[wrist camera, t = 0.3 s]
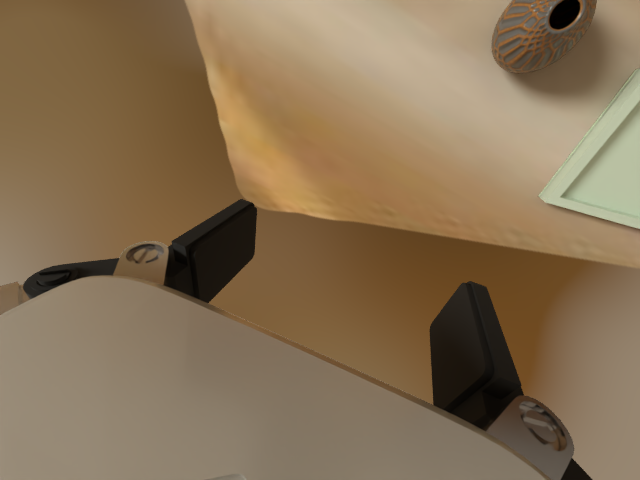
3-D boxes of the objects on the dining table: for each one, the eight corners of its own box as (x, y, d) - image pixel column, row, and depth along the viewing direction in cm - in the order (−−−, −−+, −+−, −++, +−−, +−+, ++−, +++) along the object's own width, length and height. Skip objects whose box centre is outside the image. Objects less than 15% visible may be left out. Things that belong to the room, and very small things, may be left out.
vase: (587, 13, 23) (661, -21, 16) (520, 87, 28) (556, 86, 20) (528, -27, 23) (576, -78, 16) (470, 53, 28) (488, 41, 20)
